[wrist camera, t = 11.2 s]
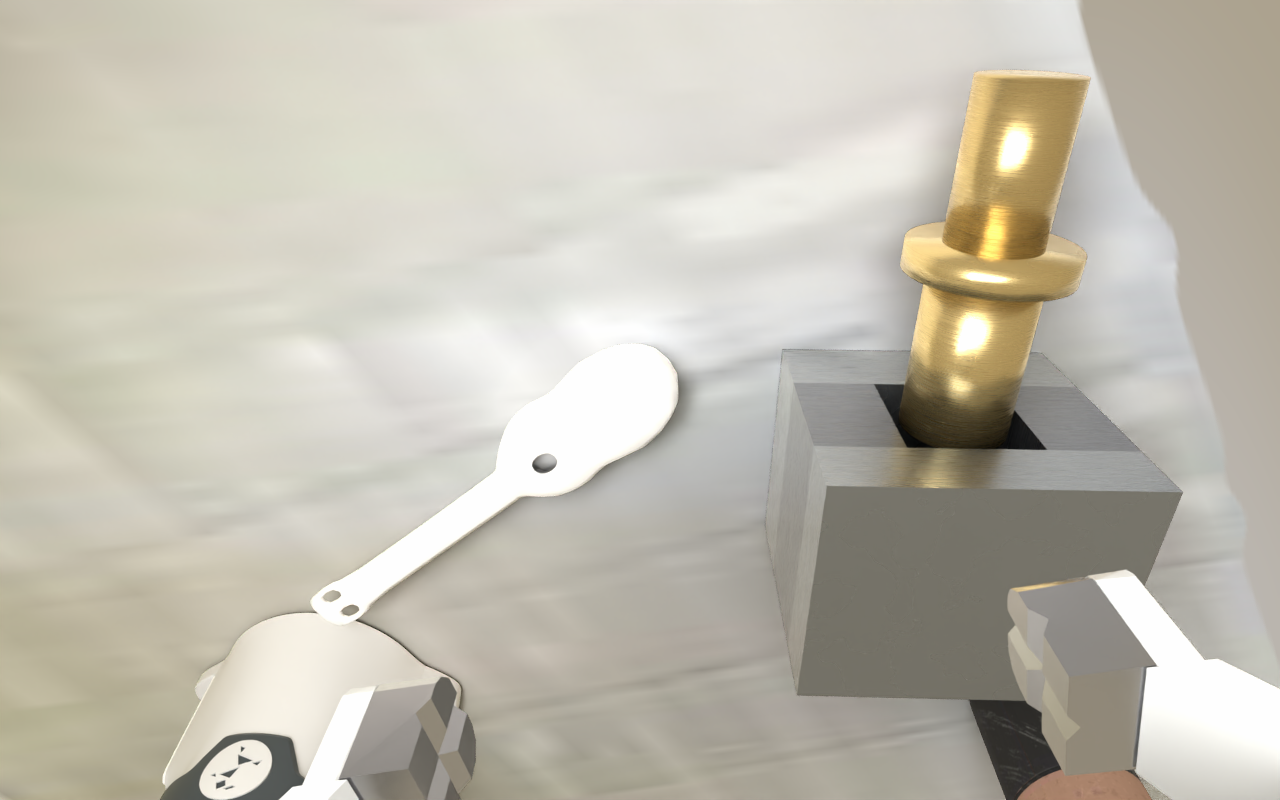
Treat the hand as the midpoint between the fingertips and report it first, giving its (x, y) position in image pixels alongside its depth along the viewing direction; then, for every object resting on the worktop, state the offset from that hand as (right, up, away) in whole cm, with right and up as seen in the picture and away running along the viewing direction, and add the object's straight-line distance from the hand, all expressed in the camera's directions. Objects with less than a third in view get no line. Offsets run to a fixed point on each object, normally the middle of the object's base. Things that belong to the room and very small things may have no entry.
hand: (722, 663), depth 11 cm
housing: (+14, +1, +34) cm, 36 cm away
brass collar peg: (+14, +11, +24) cm, 30 cm away
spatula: (-11, -1, +36) cm, 37 cm away
